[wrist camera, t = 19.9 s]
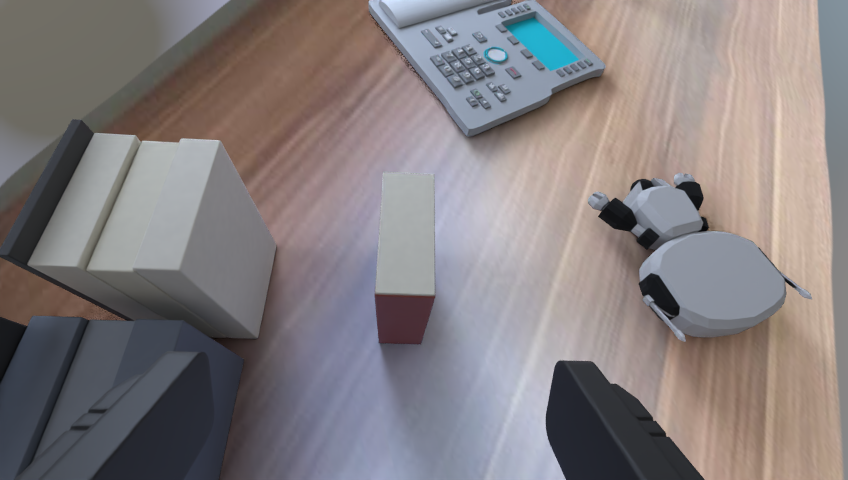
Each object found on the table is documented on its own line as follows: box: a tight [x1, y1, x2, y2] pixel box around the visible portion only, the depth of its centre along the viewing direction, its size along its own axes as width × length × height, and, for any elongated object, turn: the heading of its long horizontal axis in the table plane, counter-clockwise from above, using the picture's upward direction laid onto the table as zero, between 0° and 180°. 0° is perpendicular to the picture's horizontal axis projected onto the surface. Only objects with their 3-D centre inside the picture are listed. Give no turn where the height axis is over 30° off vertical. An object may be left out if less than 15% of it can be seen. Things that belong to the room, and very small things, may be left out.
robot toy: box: [588, 173, 812, 342], centre depth 35 cm, size 12×4×15 cm
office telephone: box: [369, 0, 606, 136], centre depth 47 cm, size 23×3×20 cm
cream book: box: [375, 172, 435, 344], centre depth 28 cm, size 3×8×11 cm, turn 0°
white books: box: [0, 119, 277, 339], centre depth 26 cm, size 7×8×14 cm
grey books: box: [0, 316, 244, 480], centre depth 22 cm, size 8×9×12 cm
